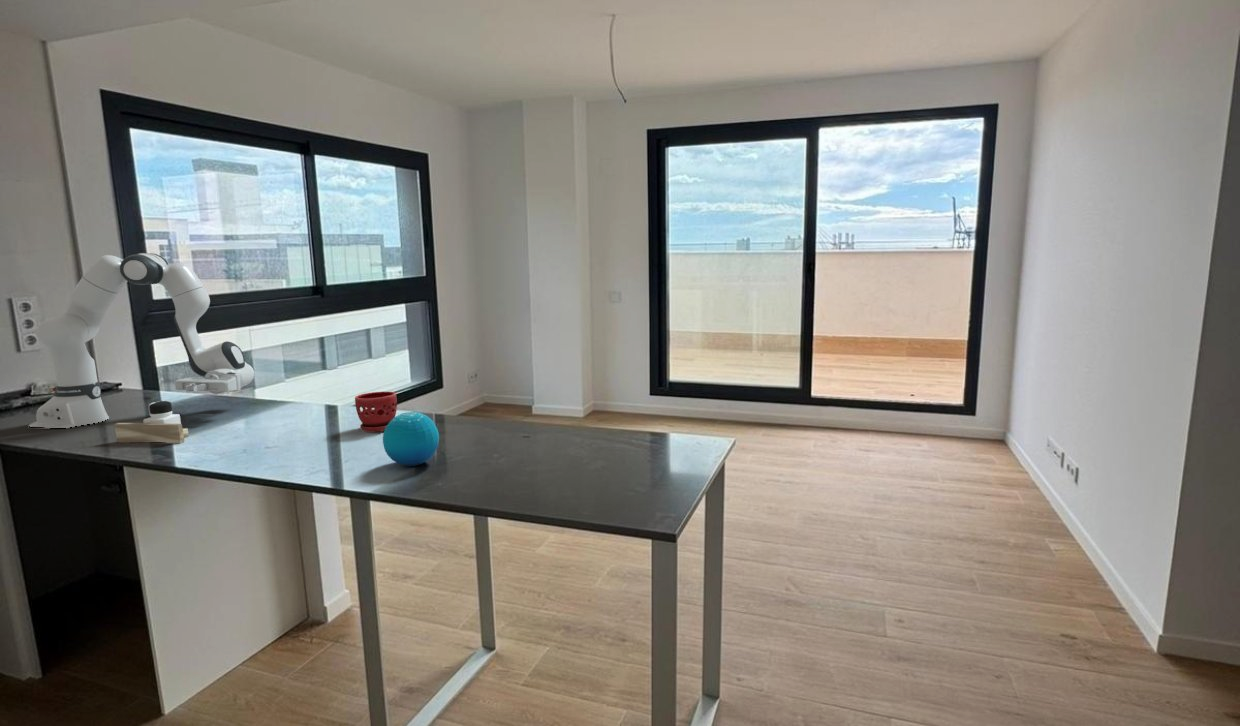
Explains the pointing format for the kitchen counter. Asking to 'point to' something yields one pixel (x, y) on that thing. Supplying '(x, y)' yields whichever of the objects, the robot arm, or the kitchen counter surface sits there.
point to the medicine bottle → (162, 413)
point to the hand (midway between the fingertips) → (189, 388)
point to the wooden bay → (150, 432)
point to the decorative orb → (410, 438)
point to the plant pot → (376, 410)
